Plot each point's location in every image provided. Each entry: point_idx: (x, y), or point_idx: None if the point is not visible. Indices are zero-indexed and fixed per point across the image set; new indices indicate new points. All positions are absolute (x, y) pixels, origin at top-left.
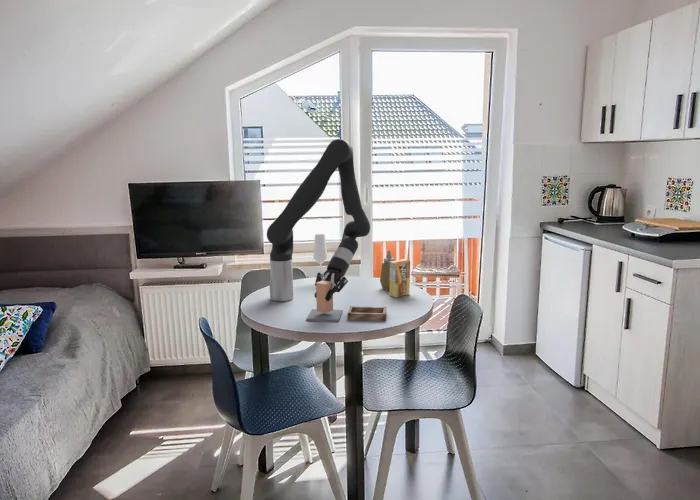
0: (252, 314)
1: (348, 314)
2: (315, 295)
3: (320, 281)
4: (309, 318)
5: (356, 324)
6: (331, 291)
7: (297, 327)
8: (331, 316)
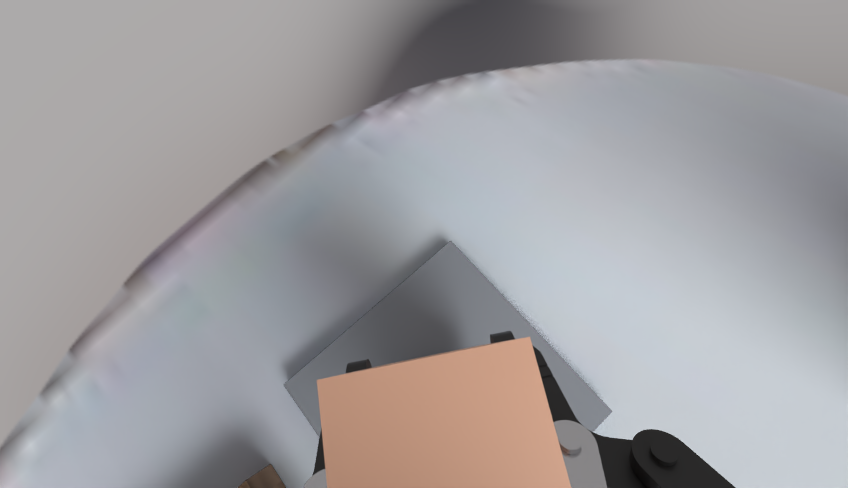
0: (760, 93)
1: (245, 482)
2: (501, 335)
3: (555, 468)
4: (442, 259)
5: (165, 436)
6: (321, 466)
7: (397, 150)
8: None
